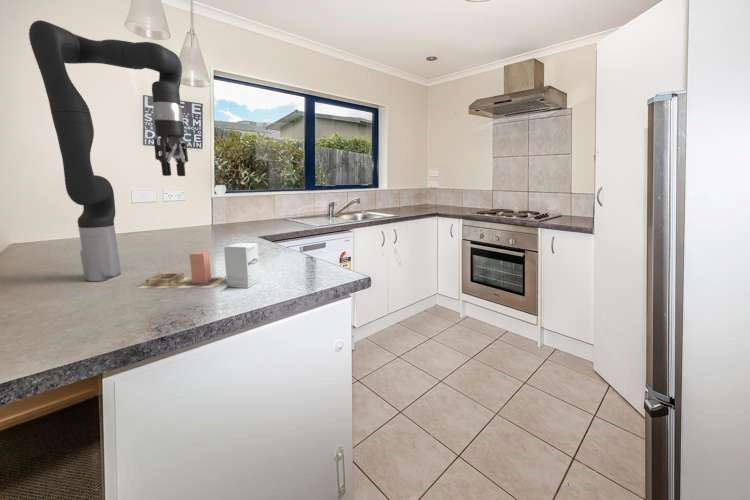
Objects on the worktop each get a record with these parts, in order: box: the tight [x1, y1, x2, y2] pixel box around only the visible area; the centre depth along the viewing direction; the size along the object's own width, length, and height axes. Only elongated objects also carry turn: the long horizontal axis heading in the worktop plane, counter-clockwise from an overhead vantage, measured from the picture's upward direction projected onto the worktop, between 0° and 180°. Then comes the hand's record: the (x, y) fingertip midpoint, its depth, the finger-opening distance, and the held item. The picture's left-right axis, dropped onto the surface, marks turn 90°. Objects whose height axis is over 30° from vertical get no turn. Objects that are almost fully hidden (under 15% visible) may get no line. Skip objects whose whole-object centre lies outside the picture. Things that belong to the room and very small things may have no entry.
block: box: [189, 250, 212, 283], centre depth 110 cm, size 4×4×9 cm
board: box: [137, 272, 226, 289], centre depth 111 cm, size 22×11×3 cm, turn 92°
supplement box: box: [223, 242, 261, 289], centre depth 111 cm, size 7×7×13 cm
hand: (174, 175), depth 110 cm, fingers open, 8 cm apart
